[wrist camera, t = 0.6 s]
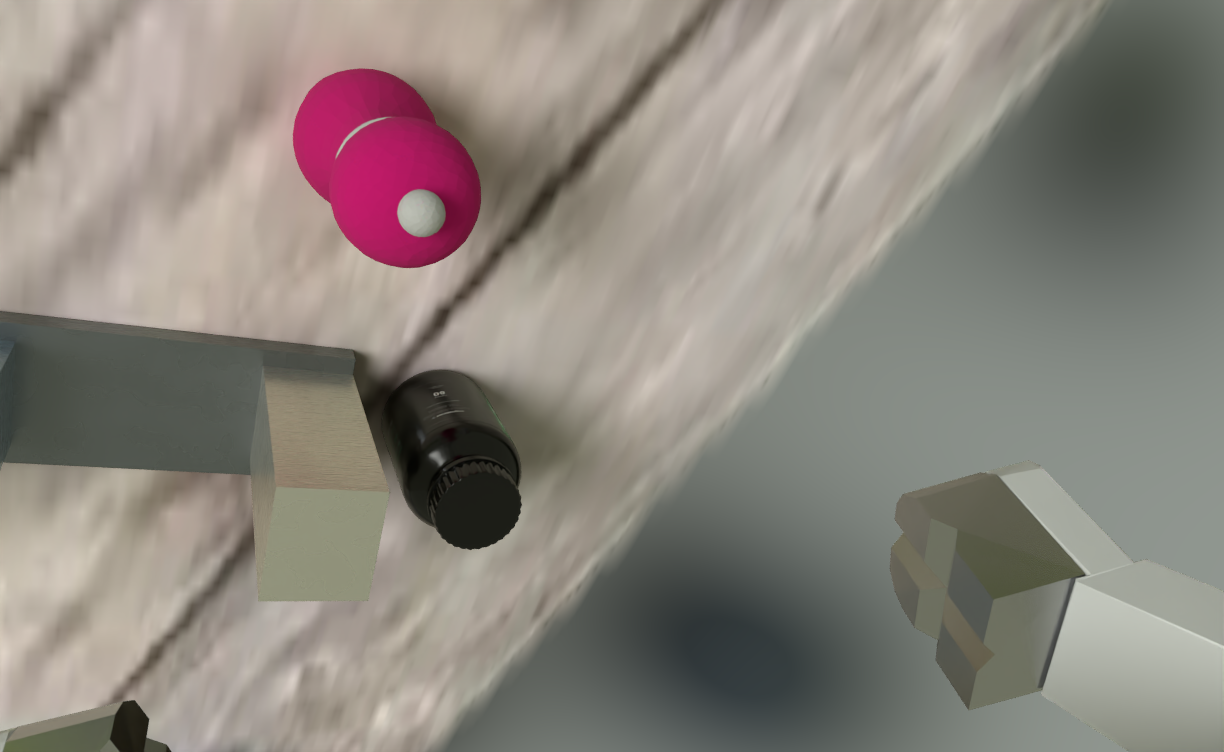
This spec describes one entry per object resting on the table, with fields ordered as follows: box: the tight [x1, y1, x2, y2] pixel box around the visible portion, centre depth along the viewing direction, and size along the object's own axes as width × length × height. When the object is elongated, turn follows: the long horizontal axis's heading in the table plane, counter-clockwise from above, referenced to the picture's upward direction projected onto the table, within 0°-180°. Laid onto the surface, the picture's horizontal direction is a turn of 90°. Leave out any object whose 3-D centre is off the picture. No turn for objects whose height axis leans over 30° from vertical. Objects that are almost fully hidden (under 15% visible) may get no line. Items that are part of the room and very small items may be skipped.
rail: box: [0, 311, 390, 601], centre depth 46 cm, size 22×8×16 cm, turn 74°
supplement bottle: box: [382, 370, 522, 550], centre depth 55 cm, size 7×7×12 cm
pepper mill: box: [293, 69, 481, 268], centre depth 43 cm, size 7×7×20 cm
